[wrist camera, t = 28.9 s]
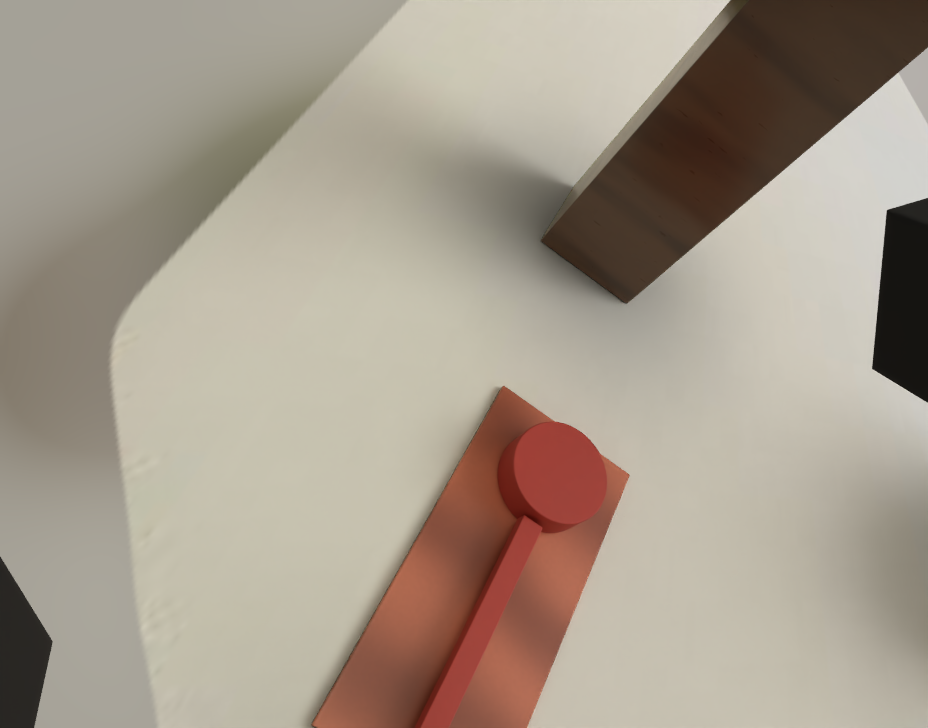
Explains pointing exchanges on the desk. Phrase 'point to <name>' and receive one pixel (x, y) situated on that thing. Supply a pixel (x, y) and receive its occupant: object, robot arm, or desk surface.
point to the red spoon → (522, 539)
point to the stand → (625, 275)
